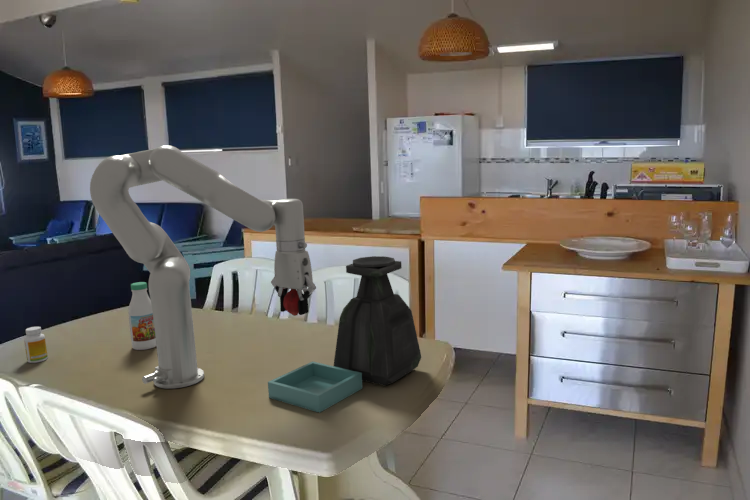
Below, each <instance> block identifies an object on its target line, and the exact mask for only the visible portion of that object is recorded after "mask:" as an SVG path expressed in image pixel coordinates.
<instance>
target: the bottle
mask: <svg viewBox="0 0 750 500" xmlns="http://www.w3.org/2000/svg"><path fill="white" fill-rule="evenodd" d="M395 259H396V258H394V257H390V256H384V255H383V256H382V255H381V256H365V257H358V258H356V259H353V260H352V263H350V264H347V265H345V272H346V274H350V275H357V276H360V277H361V278H360V281H359V285H358V289H357V292H356V296H355V297H352V298H350V300H349V301H348V303H346V305H345V306H344V307H343V309H342V311H341V314H340V316H339V321H338V328H337V335H336V336H337V337H336V344H335V351H334V360H333V366H335V367H339V368H343V369H347V370H352V371H356V372H360V373H362V382H367V383H372V384H376V385H380V386H384V387H385V386H387V385H390V384H393V383H395V382H397V381H398V380H400V379H401V378H403V377H404V376H406V375H408V374H409V373H410V372H412V371H414V370H415V369H417V368H418V367H419V365H420V362H421V360H422V353H421V349H420V345H419V340H418V335H417V330H416V326H415V322H414V316H413V312H412V309H411V308H410V307H409V306H408V304H407V303H406V302H405V300H404V299H403V298H402V296H401V295H400V294H398V293H394V291H393V287H392V284H391V281H390V279H389V276H388V274H390V273H392V272H396V271H398V270H401V269H402V261H401V260H395Z"/></svg>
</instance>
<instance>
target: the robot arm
mask: <svg viewBox="0 0 750 500" xmlns="http://www.w3.org/2000/svg"><path fill="white" fill-rule="evenodd" d="M161 181H163V182H164V183H167V184H168V185H170V186H172V187H174V188H176V189H178V190H180V191H182V192H184V193H186V194H187V195H189V196H191V197H192V198H194V199H196V200H198V201H200V202H201V203H203V204H204V205H207V207H210V208H212V209H214V210H216V211H218V212H220V213H221V214H223V215H225V217H228V218H230V219H232V220H233V221H236V222H237V223H239V224H241V225H242V226H245V227H246V228H248V229H249V230H252V231H254V232H260V233H262V232H266V231H268V230H271V228H272V227H273V226H274V227H275V242H276V243H275V244H276V245H275V246H276V250H275V254H274V271H273V273H274V277H273V278H272V279H271V281H270V283H271V284H272V286H273V287H274V290H275V291H276V293H277V297H279V302H280V312H282V313H284V312H287V311H286V310H285V308H284V305H283V301H284V297H285V295H286V294H287V293H288V292H289V291H290V290H291V289H295V290H297V292H298V295H299V298H300V300H298V310H299V313H298V315H299V316H303V315H305V314H308V313H309V299H310V297H311V295H312V294H313V293H314V292H315V290H316V289H317V286H316V284H315V283H314V280H313V278H314V277H313V269H312V264H311V258H310V254H309V252H308V250H306V248H307V246H308V243H307V242H306V239H305V237H306V236H305V220H304V219H305V218H304V204H303V201H302V200H300V199H299V198H283V199H278V200H277V199H276V200H275V199H274V200H273V199H263V198H262V199H260V198H257V197H255V196H254V195H252V194H250V193H249V192H246V191H245V190H244V189H242V188H240V187H238V186H237V185H235V184H234V183H232V182H231V181H230V180H228V179H227V178H226V177H225V176H224V175H223V174H221V173H220V172H218V171H217V170H215V169H213V168H211V167H210V166H208V165H206V164H204V163H203V162H200V161H198V160H196V159H195V158H193V157H191V156H190V155H188V154H187V153H185V152H183V151H181V150H180V148H177V147H176V146H173V145H169V144H167V145H160V146H157V147H155V148H152V149H147V150H141V151H137V152H132V153H131V152H130V153H126V154H125V153H124V154H121V155H119V154H117V155H116V154H115V155H111V156H108V157H105V158H104V159H103V160H102V161H100V162H99V164H98V165H97V166H96V168H95V169H94V171H93V174H92V176H91V178H90V182H89V193H90V194H89V195H90V198H91V202H92V204H93V206H94V208H95V210H96V211H97V213H98V214H99V216H100V217H101V219H102V221H104V223H105V224H106V225H107V228H109V229H110V232H111V233H112V234H113V235H114V237H115V238H116V240H117V241H118V242H119V244H120V245H121V247H122V248H123V249H124V251H125V252H126V255H128V257H129V259H131V260H133V261H134V262H137V263H140V264H143V265H144V267H145V268H146V269H147V271H148V272H149V278H148V292H149V298H150V300H151V304H152V311H153V320H154V327H155V336H156V354H157V365H158V366H155V367H154V370H155V371H153V372H152V373H150V374H145V375H143V376H142V378H141V381H142V383H143V384H145V385H146V384H149V383H151V382H153V384H154V385H155V386H156V387H157V388H160V389H168V390H170V389H179V388H180V389H181V388H186V387H189V386H192V385H195V384H198V383H200V382H201V381H202V380H203V379H204V378H205V371H204V370H203V369H202V368H199V367H198V361H197V350H196V348H197V347H196V341H195V328H194V320H193V310H192V309H193V308H192V301H191V300H192V299H191V294H190V293H191V291H190V279H191V269H190V265H189V264H188V262H187V260H186V258H185V257H184V256H183V254H182V252H181V251H180V250H179V249H178V247H177V246H176V245H175V243H174V242H173V241H172V239H171V238H170V236H169V235H168V233H167V232H166V231H165V230H164V229H163V228H162V227H161V226H160V225H159V224H157V223H154V222H151V221H149V220H148V219H147V217H146V216H145V215H144V214H143V212H142V210H141V208H140V207H139V206H138V204H137V203H136V202H135V201H134V200H133V199H132V197H131V195H130V192H129V191H130V190H129V189H130V188H134V187H138V186H144V185H146V184H152V183H157V182H161Z"/></svg>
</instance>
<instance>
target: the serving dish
mask: <svg viewBox="0 0 750 500" xmlns="http://www.w3.org/2000/svg"><path fill="white" fill-rule="evenodd" d="M362 389H363V381H362V373H360V372H356V371H352V370H347V369H343V368H339V367H335V366H334V365H330V364H325V363H322V362H316V361H310V362H308V363H305V364H304V365H302V366H299V367H297V368H295V369H293V370H291V371H289V372H287V373H286V372H285V373H284V374H282V375H280V376H278V377H276V378H273V379H271V380H269V381H267V390H268V398H269V399H272V400H275V401H279V402H281V401H282V403H285V404H289V405H291V406H292V405H293V406H295V407H299V408H301V409H302V408H303V409H306V410H309V411H313V412H315V413H318V412H319V413H322V412H323V411H325V410H326V409H329V408H330V407H332V406H334V405H336V404H338V403H339V402H341V401H343V400H344V399H346V398H348V397H350V396H352V395H353V394H356V393H357V392H359V391H361V390H362Z"/></svg>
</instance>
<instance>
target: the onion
mask: <svg viewBox="0 0 750 500" xmlns="http://www.w3.org/2000/svg"><path fill="white" fill-rule="evenodd" d="M298 300H300V298H299V295H298V292H297V290H295V289H289V291H288V293H287V294H286V295H285V297H284V301H283V305H284V308H285V310H286V311H285V312H287V313H288V314H289V315H292V316H294V317H295V316H298V315H299V310H298Z"/></svg>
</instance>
